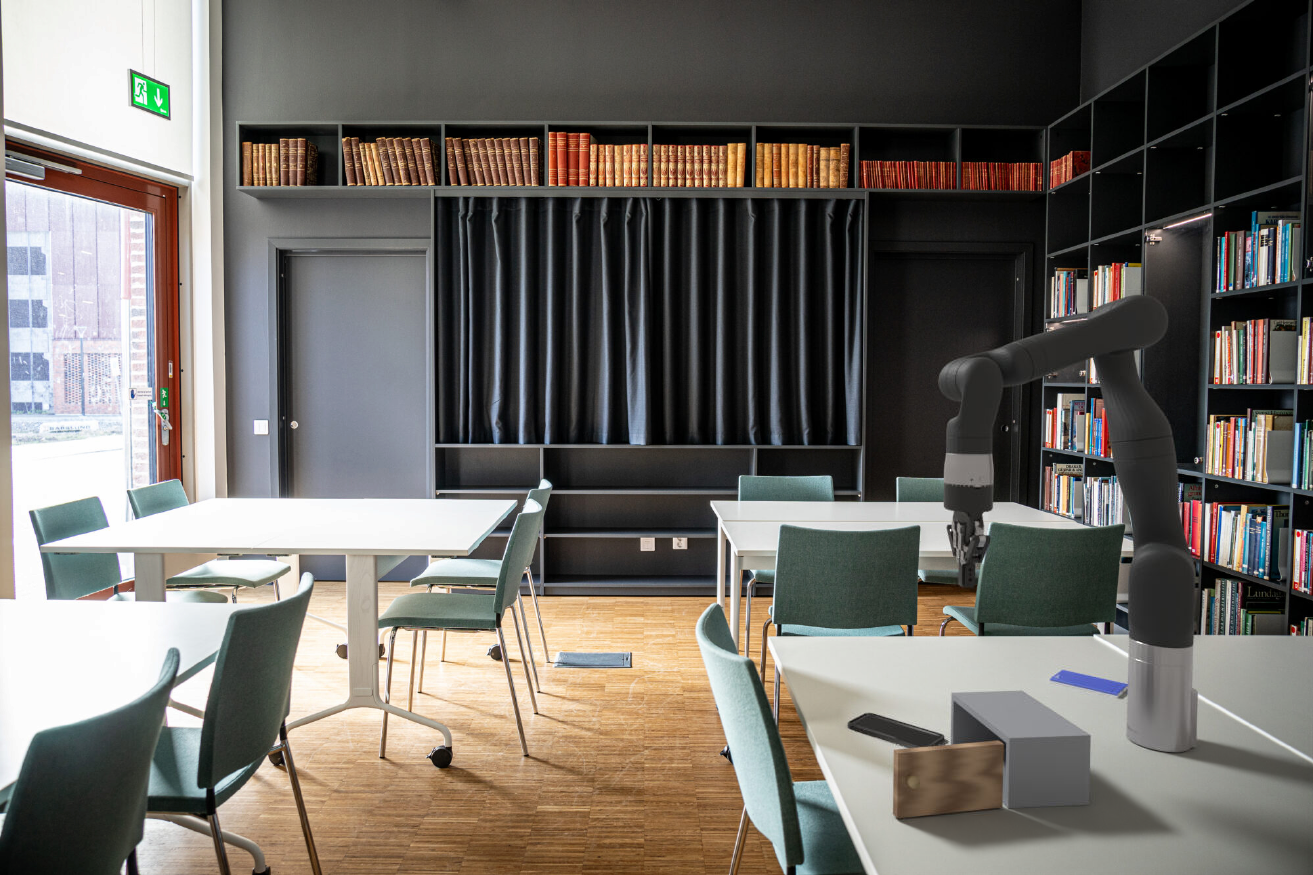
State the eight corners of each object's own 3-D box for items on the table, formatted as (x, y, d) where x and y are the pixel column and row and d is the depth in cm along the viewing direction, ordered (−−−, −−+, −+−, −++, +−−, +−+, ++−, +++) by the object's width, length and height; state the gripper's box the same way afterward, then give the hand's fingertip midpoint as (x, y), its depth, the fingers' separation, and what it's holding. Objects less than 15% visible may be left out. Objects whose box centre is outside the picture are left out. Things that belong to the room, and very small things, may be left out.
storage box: (1020, 750, 132) (1022, 690, 132) (1089, 804, 115) (1090, 735, 114) (950, 753, 131) (951, 692, 131) (1008, 808, 114) (1009, 738, 113)
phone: (867, 711, 147) (947, 735, 137) (867, 717, 147) (946, 741, 137) (844, 723, 142) (925, 749, 131) (844, 729, 142) (924, 755, 131)
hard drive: (1049, 678, 165) (1117, 693, 156) (1062, 668, 171) (1128, 683, 162) (1049, 685, 165) (1117, 701, 156) (1062, 676, 171) (1128, 690, 162)
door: (997, 803, 114) (998, 740, 114) (1006, 810, 112) (1008, 746, 112) (892, 813, 111) (893, 749, 111) (900, 821, 109) (901, 756, 109)
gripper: (931, 477, 138) (930, 578, 139) (960, 485, 125) (958, 596, 126) (975, 477, 138) (973, 578, 139) (1009, 485, 125) (1007, 596, 126)
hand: (966, 586), depth 132 cm, fingers closed
